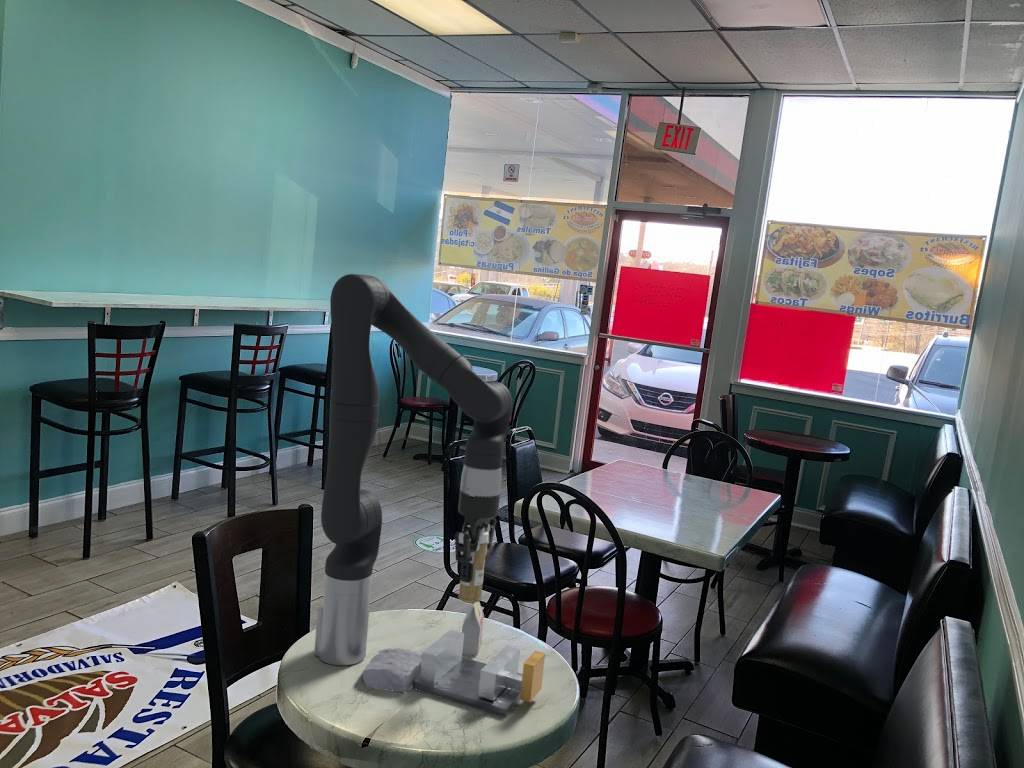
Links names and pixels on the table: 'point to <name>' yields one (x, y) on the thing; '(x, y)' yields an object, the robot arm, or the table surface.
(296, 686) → the table surface
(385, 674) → the stone block
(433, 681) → the vise
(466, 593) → the sprinkles bottle
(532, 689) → the sliding jaw
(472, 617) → the tea box
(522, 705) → the table surface
